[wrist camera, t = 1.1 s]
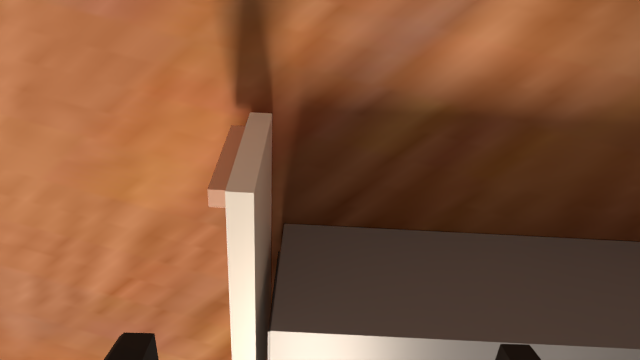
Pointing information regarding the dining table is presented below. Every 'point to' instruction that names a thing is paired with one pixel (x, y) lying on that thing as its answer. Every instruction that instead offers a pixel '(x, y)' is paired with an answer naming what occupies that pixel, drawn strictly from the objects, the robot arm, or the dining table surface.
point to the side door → (247, 231)
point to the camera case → (451, 296)
